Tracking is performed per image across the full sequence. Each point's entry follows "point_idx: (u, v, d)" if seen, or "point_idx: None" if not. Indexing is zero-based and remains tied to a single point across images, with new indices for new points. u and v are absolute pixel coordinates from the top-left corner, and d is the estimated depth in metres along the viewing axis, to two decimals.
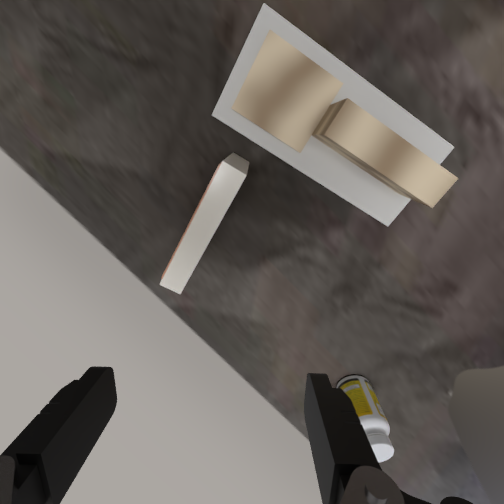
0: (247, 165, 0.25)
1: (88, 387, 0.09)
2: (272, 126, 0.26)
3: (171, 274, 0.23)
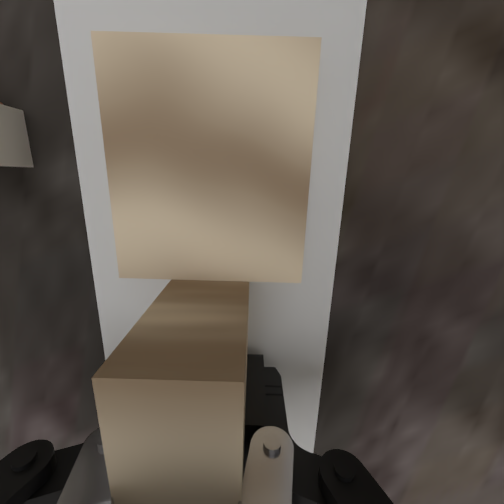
0: None
1: None
2: (125, 177, 0.09)
3: None
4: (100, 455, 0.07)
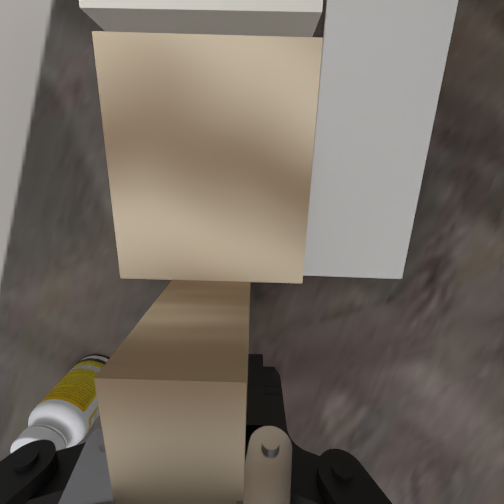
0: None
1: None
2: (127, 178, 0.09)
3: None
4: (102, 455, 0.07)
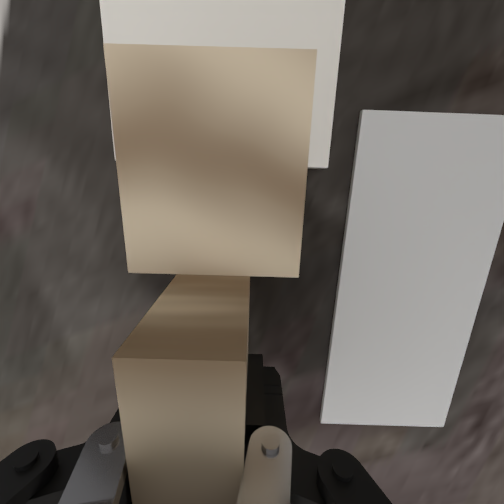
0: (335, 90, 0.14)
1: None
2: (135, 179, 0.10)
3: None
4: (102, 455, 0.07)
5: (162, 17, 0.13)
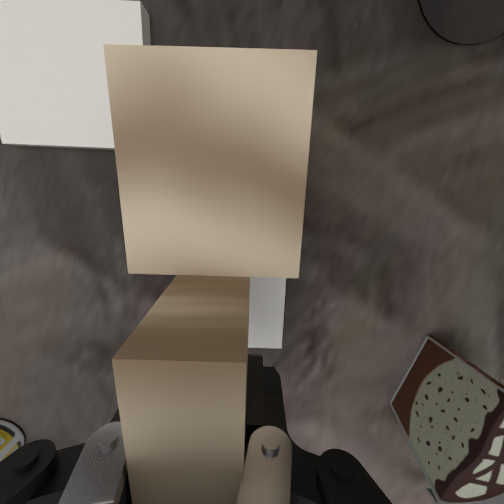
0: None
1: None
2: (135, 180, 0.10)
3: None
4: (102, 455, 0.07)
5: (23, 47, 0.20)
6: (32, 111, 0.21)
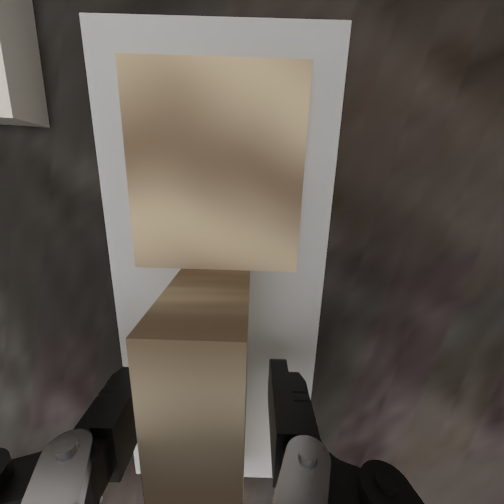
0: None
1: None
2: (143, 178, 0.11)
3: None
4: (57, 464, 0.07)
5: None
6: None
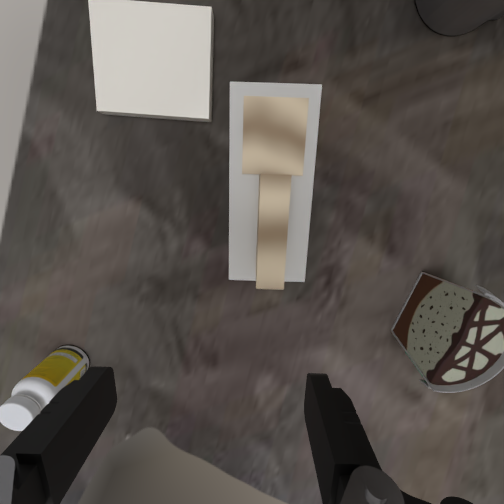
0: (210, 77, 0.28)
1: (88, 387, 0.09)
2: (248, 138, 0.30)
3: None
4: None
5: (121, 38, 0.27)
6: (122, 86, 0.28)
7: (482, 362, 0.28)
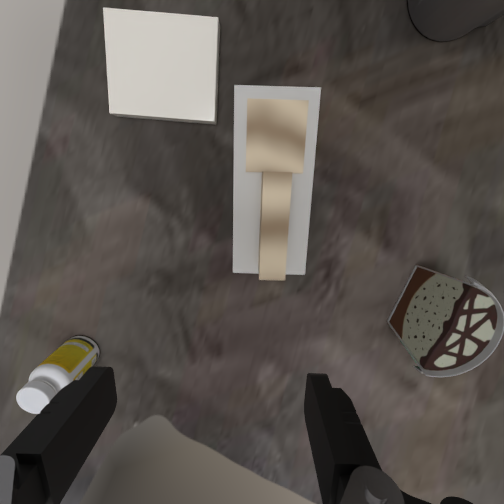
0: (215, 83, 0.30)
1: (88, 387, 0.09)
2: (251, 138, 0.31)
3: None
4: None
5: (133, 45, 0.29)
6: (134, 90, 0.30)
7: (472, 349, 0.30)
